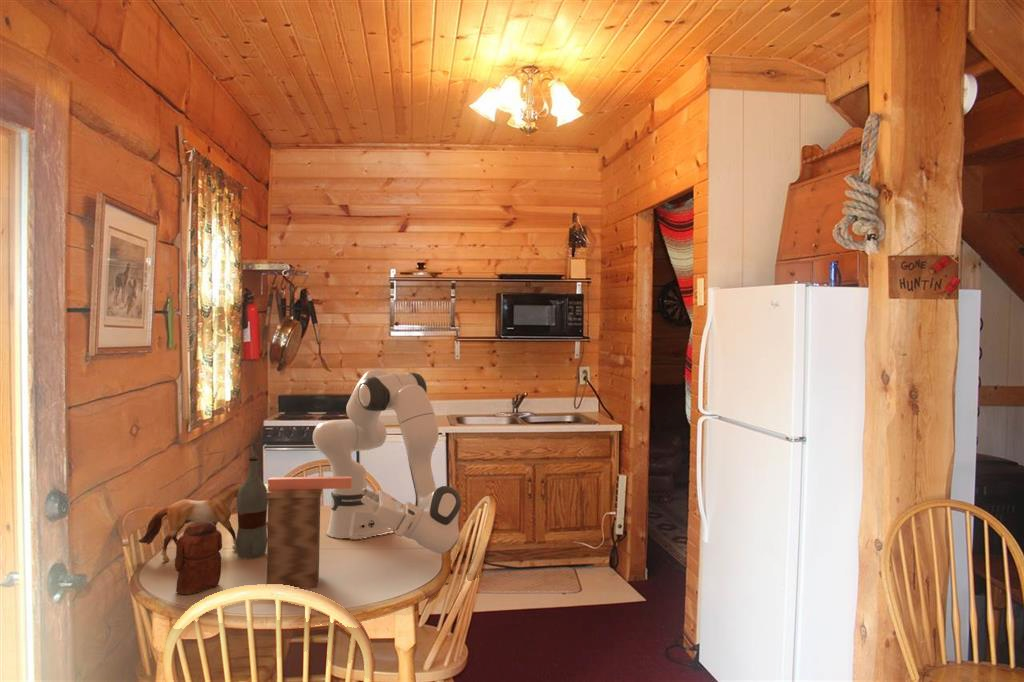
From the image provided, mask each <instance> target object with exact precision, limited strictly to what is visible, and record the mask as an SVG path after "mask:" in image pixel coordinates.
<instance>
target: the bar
mask: <svg viewBox="0 0 1024 682" xmlns="http://www.w3.org/2000/svg"><path fill="white" fill-rule="evenodd" d="M267 484H268V490H286V489H323V490H325V489H327V490H333V489H345V488H351V484H352V476H345V477H332V476H291V477H290V476H288V477H286V476H284V477H277V476H276V477H269V478H268V479H267Z"/></svg>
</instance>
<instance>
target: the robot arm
mask: <svg viewBox="0 0 1024 682" xmlns="http://www.w3.org/2000/svg"><path fill="white" fill-rule="evenodd" d="M427 389H428V387H427V383H426V380H425V379H424V377H423V376H422V375H421V374H419V373H416V372H405V373H404V372H403V373H402V372H398V373H389V374H388V373H387V372H386V371H384V370H382V369H379V368H378V369H377V368H373V369H370V370H368V371H366V372H365V373H364V374H363V375H362V377H361V378H360V379H359V381H358V382H357V383H356V385H355V388H354V390H353V391H352V393H351V395H350V398H349V399H348V402H347V404H346V409H345V410H346V411H345V412H346V415H347V417H348V419H331V420H328V421H323V422H321V423H318V424H317V425H316V426H315V428H314V430H313V432H312V442H313V445H314V447H315V449H317V451H318V452H320V453H321V454H323V456H324V457H326V459H327V460H328V463H329V465H330V468H331V477H345V476H352V484H351V488H345V489H332V491H331V492H330V493H331V495H330V509H331V510H330V512H331V513H330V517H329V518H330V519H329V523H328V524H329V525H328V528H327V531H326V535H327V536H329V537H330V538H334V537H335V539H343V538H350V539H349V540H352V539H360V540H362V539H361V538H364V537H370V536H374V535H378V534H382V533H385V532H390V531H393V530H394V533H395V534H396V535H398V536H400V537H404V538H407V539H410V540H411V539H412V541H415V542H416V543H417V544H418V545H419V546H421V547H423V548H425V549H427V550H428V551H431V552H433V553H435V554H439V555H442V554H447V553H448V552H450V551H451V550H452V548H454V547H455V545H456V544H457V542H458V541H459V540H460V539H459V538H460V535H461V533H460V530H459V515H460V510H461V507H462V498H461V496H460V494H459V492H458V491H457V490H456V489H455V488H454V487H452V486H448V485H443V486H440V487H436V483H435V479H434V475H433V469H432V463H431V462H432V455H433V451H434V450H435V447H436V445H437V442H438V441H439V437H440V436H439V435H440V434H439V433H440V432H439V425H438V421H437V420H438V419H437V417H436V413H435V411H434V408H433V405H432V403H431V401H430V400H431V399H430V398H429V396H428V395H427V392H428V390H427ZM391 410H393V411H395V414H396V418H397V421H398V426H399V429H400V433H401V435H402V439H403V443H404V447H405V451H406V456H407V460H408V464H409V465H408V466H409V471H410V475H411V479H412V485H413V488H414V493H415V494H414V495H415V504H413V503H412V502H410V501H406V502H405V503H402V502H400V501H399V500H398V499H397V498H395V497H393V496H392V495H390V494H388V493H387V492H385V491H383V490H378V491H377V492H376V491H373V490H369V489H368V488H367V486H366V485H367V483H366V482H367V472H366V468H365V467H364V466H363V465H362V464H361V463H360V462H358V461H355V460H354V459H353V458H352V453H353V452H362V451H370V450H374V449H376V448H380V447H381V446H384V444H385V442H386V440H387V433H388V432H387V427H386V426H385V423H383V421H382V420H380V419H379V417H380V416H381V413H382V412H384V411H391ZM388 528H391V529H388ZM370 538H371V537H370Z"/></svg>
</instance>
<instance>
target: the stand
mask: <svg viewBox="0 0 1024 682" xmlns="http://www.w3.org/2000/svg"><path fill="white" fill-rule="evenodd" d="M323 490H324V489H286V490H268V491H267V492H266V498H268V523H267V548H266V585H267V584H283V585H290V586H294V587H299V588H298V589H312V588H313V589H316V588H317V587H318V583H319V577H320V537H321V536H320V532H321V497H322V494H323V493H322V492H323ZM305 587H306V588H305Z"/></svg>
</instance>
